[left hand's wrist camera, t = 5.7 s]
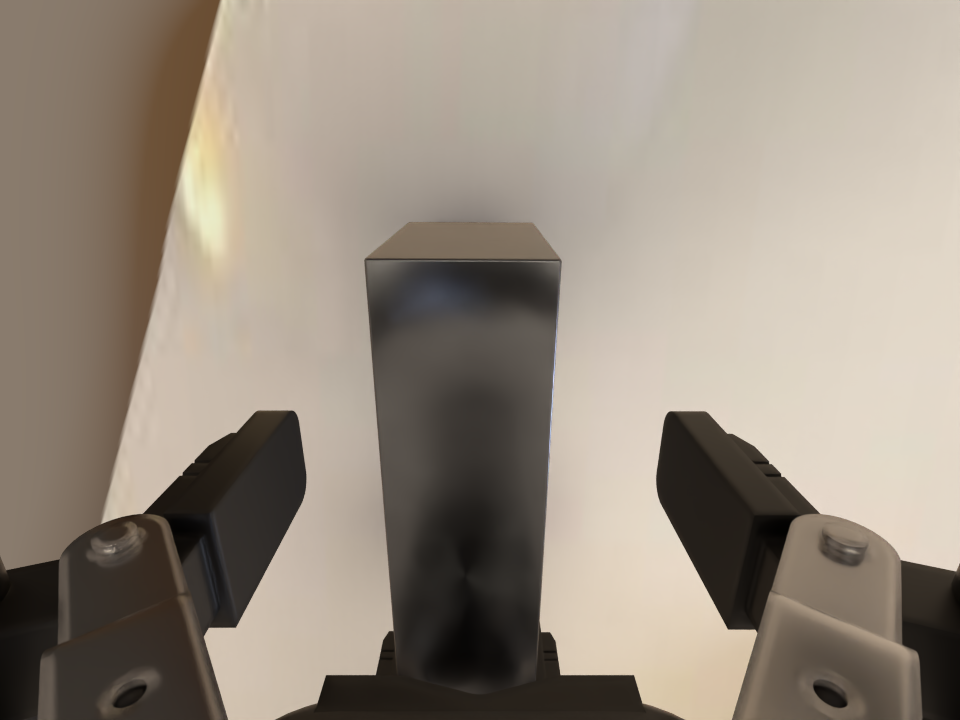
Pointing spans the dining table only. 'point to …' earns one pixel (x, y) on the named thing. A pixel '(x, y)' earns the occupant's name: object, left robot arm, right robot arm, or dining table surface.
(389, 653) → the right robot arm
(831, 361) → the dining table surface
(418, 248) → the bar
